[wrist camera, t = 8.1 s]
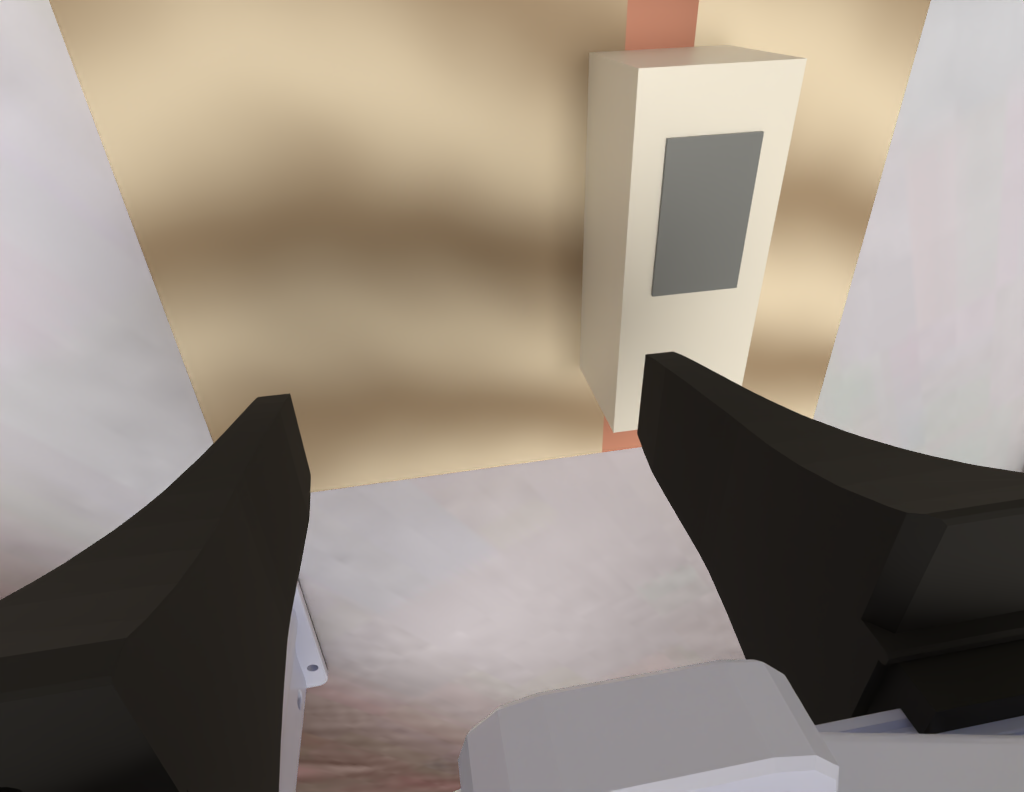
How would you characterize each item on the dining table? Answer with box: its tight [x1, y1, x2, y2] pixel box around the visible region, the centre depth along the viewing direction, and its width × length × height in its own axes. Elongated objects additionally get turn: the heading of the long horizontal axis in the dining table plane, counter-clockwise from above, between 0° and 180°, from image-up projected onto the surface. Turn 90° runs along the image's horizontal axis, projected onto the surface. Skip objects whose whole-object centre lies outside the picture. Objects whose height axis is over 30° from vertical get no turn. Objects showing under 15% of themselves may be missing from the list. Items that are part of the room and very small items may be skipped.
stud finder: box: [580, 45, 807, 433], centre depth 18 cm, size 10×4×4 cm, turn 2°
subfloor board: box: [49, 0, 931, 492], centre depth 20 cm, size 18×23×1 cm
